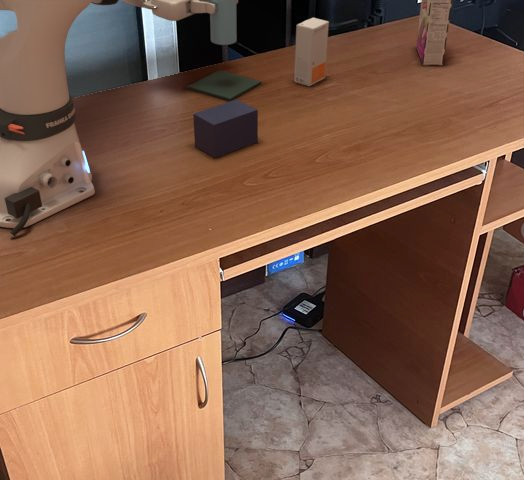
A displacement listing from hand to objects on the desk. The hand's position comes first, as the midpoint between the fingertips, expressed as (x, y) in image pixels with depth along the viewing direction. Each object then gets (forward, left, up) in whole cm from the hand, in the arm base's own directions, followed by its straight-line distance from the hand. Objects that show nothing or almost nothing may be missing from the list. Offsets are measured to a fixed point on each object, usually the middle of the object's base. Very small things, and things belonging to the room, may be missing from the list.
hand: (226, 4), depth 154 cm
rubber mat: (0, +1, -17) cm, 17 cm away
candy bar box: (+38, -30, -17) cm, 51 cm away
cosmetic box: (+12, -13, -17) cm, 25 cm away
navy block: (-23, -14, -17) cm, 31 cm away
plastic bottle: (0, -4, -5) cm, 6 cm away
